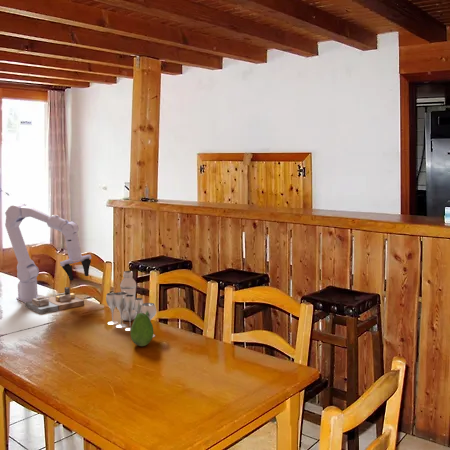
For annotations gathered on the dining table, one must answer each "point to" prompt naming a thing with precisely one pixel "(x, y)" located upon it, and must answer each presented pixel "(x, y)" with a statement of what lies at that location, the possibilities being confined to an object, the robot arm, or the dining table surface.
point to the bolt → (67, 291)
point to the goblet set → (128, 307)
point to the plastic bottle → (128, 293)
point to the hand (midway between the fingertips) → (79, 278)
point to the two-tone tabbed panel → (53, 303)
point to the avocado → (142, 330)
